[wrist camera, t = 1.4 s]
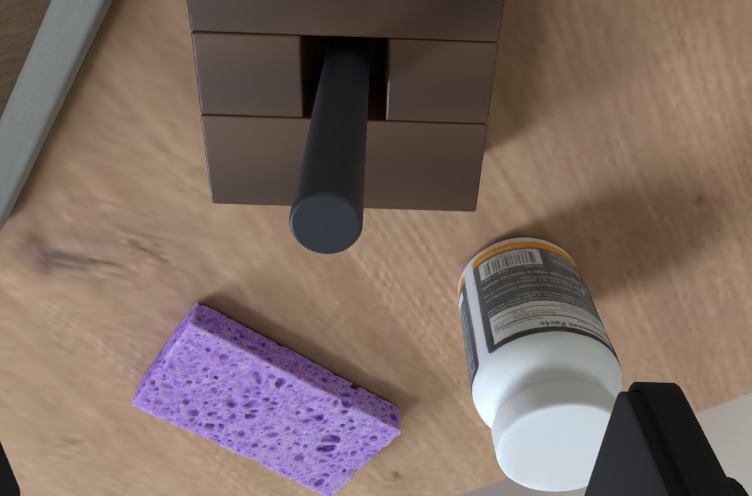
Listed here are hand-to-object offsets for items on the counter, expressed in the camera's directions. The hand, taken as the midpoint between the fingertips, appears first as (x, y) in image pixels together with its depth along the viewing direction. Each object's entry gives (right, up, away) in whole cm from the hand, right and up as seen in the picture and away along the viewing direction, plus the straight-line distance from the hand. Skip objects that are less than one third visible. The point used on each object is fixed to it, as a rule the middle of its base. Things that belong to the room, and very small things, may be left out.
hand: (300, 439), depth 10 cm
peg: (0, +11, +15) cm, 19 cm away
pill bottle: (+8, +1, +22) cm, 23 cm away
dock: (0, +11, +15) cm, 19 cm away
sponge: (-5, -5, +26) cm, 27 cm away
